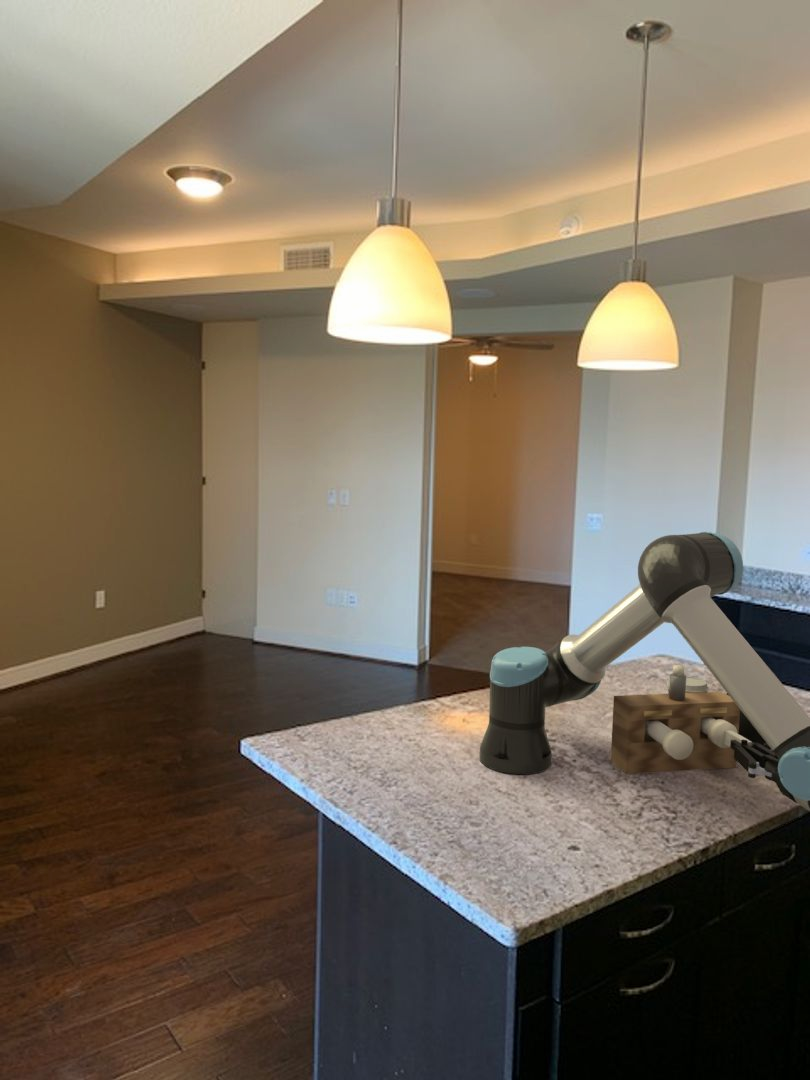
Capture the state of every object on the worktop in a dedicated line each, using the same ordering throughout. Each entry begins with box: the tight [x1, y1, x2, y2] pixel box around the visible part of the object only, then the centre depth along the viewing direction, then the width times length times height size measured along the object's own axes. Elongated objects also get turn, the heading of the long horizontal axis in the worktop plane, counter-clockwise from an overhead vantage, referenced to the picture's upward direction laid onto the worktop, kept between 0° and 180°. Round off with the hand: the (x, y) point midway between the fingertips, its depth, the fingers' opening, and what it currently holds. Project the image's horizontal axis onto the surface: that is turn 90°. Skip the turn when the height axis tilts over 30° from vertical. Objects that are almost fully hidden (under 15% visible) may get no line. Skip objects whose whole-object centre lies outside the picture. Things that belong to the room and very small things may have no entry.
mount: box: [610, 691, 740, 775], centre depth 164 cm, size 25×7×14 cm, turn 101°
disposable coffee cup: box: [665, 675, 710, 694], centre depth 186 cm, size 10×10×12 cm
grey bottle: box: [668, 664, 687, 701], centre depth 163 cm, size 3×3×7 cm
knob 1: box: [645, 719, 693, 760], centre depth 158 cm, size 5×15×5 cm, turn 11°
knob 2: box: [700, 717, 738, 748], centre depth 164 cm, size 5×15×5 cm, turn 11°
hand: (728, 737), depth 157 cm, fingers closed
